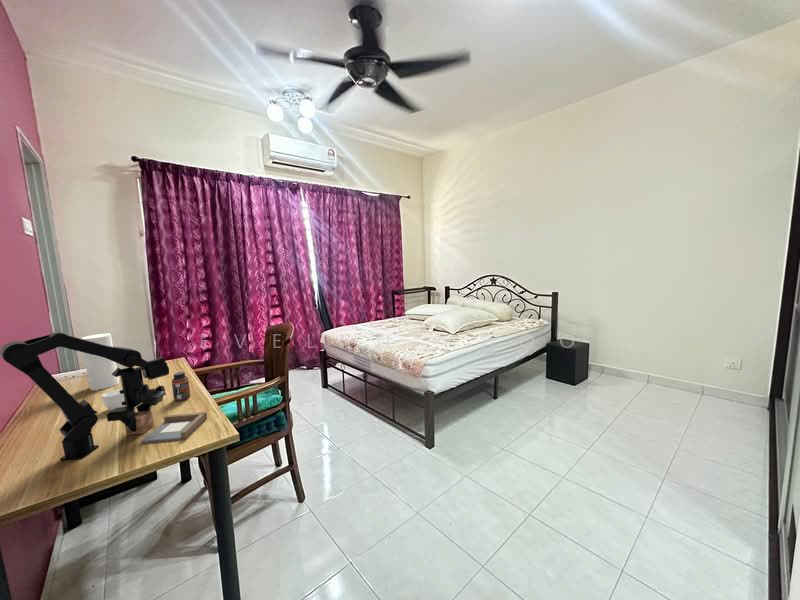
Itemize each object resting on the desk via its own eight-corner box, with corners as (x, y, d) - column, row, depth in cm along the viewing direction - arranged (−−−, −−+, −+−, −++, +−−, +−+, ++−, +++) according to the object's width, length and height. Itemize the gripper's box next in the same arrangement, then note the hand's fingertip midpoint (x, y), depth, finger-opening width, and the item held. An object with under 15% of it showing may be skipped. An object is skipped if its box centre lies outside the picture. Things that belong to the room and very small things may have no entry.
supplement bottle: (182, 402, 137) (178, 376, 136) (170, 401, 138) (166, 375, 137) (194, 395, 143) (190, 371, 141) (182, 395, 144) (178, 370, 143)
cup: (103, 409, 134) (100, 393, 133) (134, 400, 141) (131, 385, 140) (106, 414, 129) (103, 398, 128) (138, 405, 136) (135, 389, 135)
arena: (186, 439, 108) (185, 432, 107) (141, 443, 107) (139, 436, 106) (207, 418, 122) (206, 412, 121) (167, 421, 120) (166, 415, 120)
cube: (143, 433, 113) (141, 418, 112) (126, 434, 112) (123, 419, 111) (154, 425, 118) (151, 410, 117) (137, 426, 118) (135, 412, 117)
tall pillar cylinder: (125, 381, 165) (116, 333, 161) (103, 390, 154) (93, 338, 151) (106, 381, 166) (98, 333, 163) (84, 390, 156) (74, 339, 152)
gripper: (138, 394, 104) (146, 439, 106) (173, 373, 123) (179, 412, 125) (101, 396, 103) (109, 443, 105) (142, 375, 122) (148, 415, 124)
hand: (140, 427), depth 115 cm, fingers closed on cube, 5 cm apart
